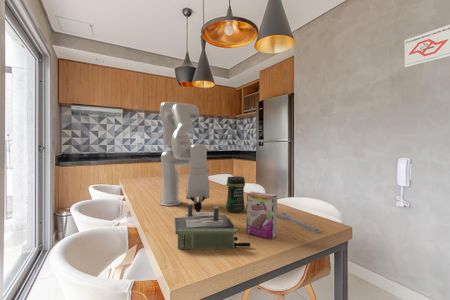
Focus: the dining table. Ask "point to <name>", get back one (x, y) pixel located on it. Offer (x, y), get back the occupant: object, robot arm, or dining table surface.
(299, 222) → the adjustable wrench
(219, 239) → the handheld radio
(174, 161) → the robot arm
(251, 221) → the candy bar box
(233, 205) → the coffee jar
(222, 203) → the dining table surface
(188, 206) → the handle
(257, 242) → the dining table surface
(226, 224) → the breaker panel
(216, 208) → the handle
